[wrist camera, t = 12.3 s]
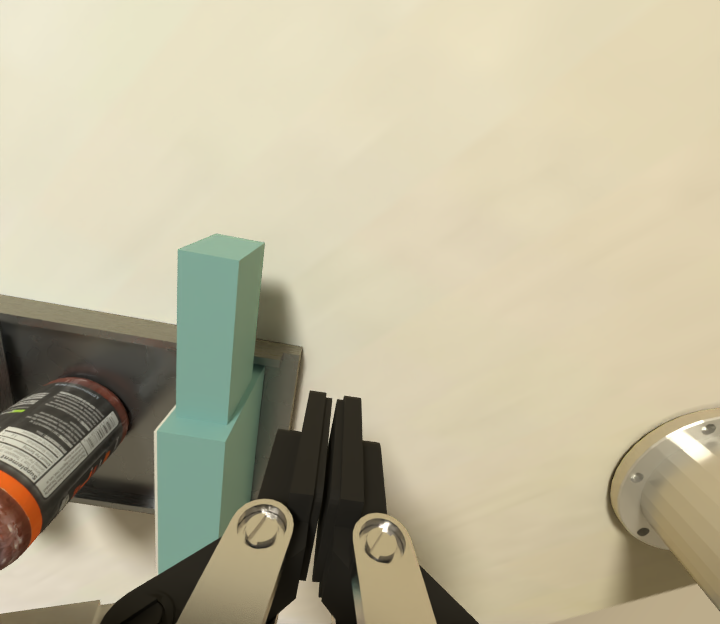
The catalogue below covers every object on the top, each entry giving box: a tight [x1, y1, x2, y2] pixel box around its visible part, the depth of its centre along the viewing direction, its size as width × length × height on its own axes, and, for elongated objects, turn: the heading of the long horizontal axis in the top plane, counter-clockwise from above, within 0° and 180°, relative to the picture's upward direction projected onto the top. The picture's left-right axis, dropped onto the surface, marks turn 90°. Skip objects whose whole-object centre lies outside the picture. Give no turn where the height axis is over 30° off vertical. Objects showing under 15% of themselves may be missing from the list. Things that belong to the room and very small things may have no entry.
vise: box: [0, 295, 302, 514], centre depth 22 cm, size 23×14×8 cm, turn 79°
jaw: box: [154, 234, 265, 576], centre depth 20 cm, size 3×20×7 cm, turn 169°
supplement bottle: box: [0, 377, 129, 570], centre depth 19 cm, size 6×6×11 cm
